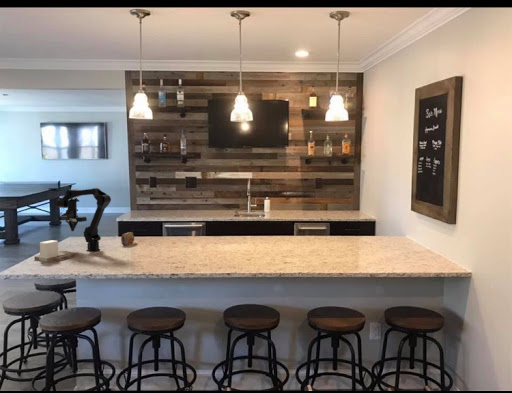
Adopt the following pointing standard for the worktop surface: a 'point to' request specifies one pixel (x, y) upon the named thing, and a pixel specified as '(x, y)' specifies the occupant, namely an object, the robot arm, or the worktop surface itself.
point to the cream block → (49, 249)
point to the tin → (127, 238)
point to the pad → (43, 259)
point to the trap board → (60, 256)
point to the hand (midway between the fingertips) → (72, 231)
